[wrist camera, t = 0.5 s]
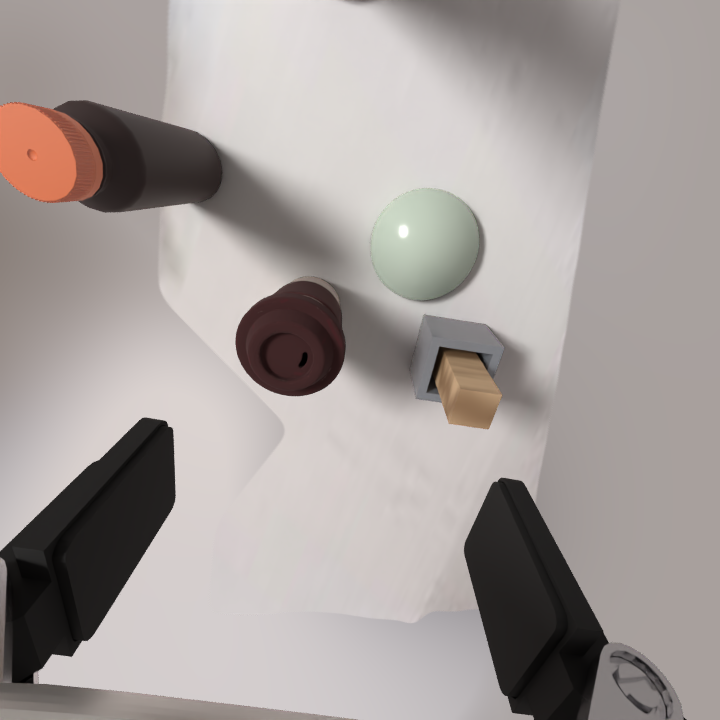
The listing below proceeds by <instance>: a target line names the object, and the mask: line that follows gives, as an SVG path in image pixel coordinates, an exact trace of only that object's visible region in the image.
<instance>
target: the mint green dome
mask: <svg viewBox="0 0 720 720" xmlns="http://www.w3.org/2000/svg"><path fill="white" fill-rule="evenodd" d="M478 250H479V231H478V226H477V223H476V220H475V218H474V216H473V214H472V212H471V211H470V209H469V208H468V206H467V205H466V204H465V203H464V202H463V201H462V200H461V199H459V198H458V197H456V196H455V195H453V194H451V193H449V192H446V191H443V190H439V189H432V188H422V189H416V190H412V191H409V192H407V193H405V194H403V195H401V196H399V197H398V198H396V199H395V200H393V201H392V202H391V203H390V204H389V205H388V206H387V207H386V208H385V209H384V210H383V212H382V213H381V215H380V216H379V218H378V220H377V222H376V224H375V226H374V229H373V232H372V237H371V258H372V263H373V266H374V269H375V271H376V273H377V275H378V277H379V278H380V280H381V281H382V282H383V284H384V285H385V286H386V287H387V288H388V289H390V290H391V291H392V292H394V293H395V294H397V295H399V296H402V297H404V298H407V299H412V300H429V299H434V298H438V297H440V296H443V295H445V294H447V293H449V292H451V291H452V290H453V289H455V288H456V287H457V286H458V285H460V284H461V283H462V282H463V280H464V279H465V278H466V277H467V276H468V274H469V273H470V271H471V269H472V267H473V265H474V263H475V261H476V258H477V254H478Z"/></svg>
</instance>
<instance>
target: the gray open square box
mask: <svg viewBox="0 0 720 720" xmlns="http://www.w3.org/2000/svg"><path fill="white" fill-rule="evenodd" d="M439 346H440V347H447V348H453V349H460V350H466V351H473V352H476V354H477V355H478V357H479V359H480V360H481V362H482V363H483V365H484V367H485V368H486V370H487V371H488V373H489V375H490V376H491V378H492V379H493V378H494V375H495V373H496V370H497V367H498V365H499V362H500V359H501V357H502V354H503V351H504V349H505V347H504V346H503V345H502V344H501V343H500V341H499V340H498V339H497V338H496V336H495V335H494V334H493V333H492V331H491V330H490V329H489V328H488V327H487V325H486V324H479V323H473V322H467V321H460V320H454V319H448V318H442V317H435V316H429V315H423V319H422V323H421V327H420V331H419V335H418V339H417V343H416V347H415V351H414V355H413V359H412V363H411V367H410V374H411V379H412V383H413V388H414V393H415V397H416V399H421V400H428V401H435V402H441V403H442V401H441V398H440V395H439V392H438V389H437V386H436V383H435V380H434V377H433V374H432V371H433V367H434V364H435V360H436V356H437V353H438V349H439Z"/></svg>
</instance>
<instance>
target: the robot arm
mask: <svg viewBox="0 0 720 720" xmlns="http://www.w3.org/2000/svg"><path fill="white" fill-rule="evenodd" d="M175 496H176V495H175V466H174V439H173V429H172V428H171V427H168V424H167V422H166V421H163V420H157V419H151V418H142V419H141V420H139V421H138V422H137V423H136V424H135V425H134V426H133V427H132V428H131V429H130V430H129V431H128V432H127V433H126V434H125V435H124V436H123V437H122V438H121V439H120V440H119V441H118V442H117V443H116V444H115V445H114V446H113V447H112V448H111V449H110V450H109V451H108V452H107V453H106V454H105V455H104V456H103V457H102V458H101V459H100V460H99V461H96V462H94V463H92V464H91V465H89V466H88V467H87V468H86V469H85V470H84V471H83V472H82V473H81V474H80V475H79V476H78V477H77V478H75V479H74V480H73V481H72V482H71V483H70V484H69V485H68V486H67V487H66V488H65V489H64V490H63V491H62V492H61V493H60V494H59V495H58V496H57V497H56V498H55V499H54V500H53V501H52V502H51V503H50V504H49V505H48V506H47V507H46V508H45V509H44V510H43V511H41V512H40V513H39V515H37V516H36V517H35V518H34V519H33V520H32V521H31V522H30V523H29V524H28V525H27V526H26V527H25V528H24V529H23V530H22V531H21V532H20V533H19V534H18V535H17V536H16V537H15V538H14V539H13V540H12V541H11V542H9V543H8V544H7V545H6V546H5V547H4V548H3V549H2V550H1V551H0V720H356V719H348V718H340V717H332V716H323V715H315V714H308V713H298V712H291V711H283V710H274V709H266V708H258V707H250V706H242V705H234V704H224V703H216V702H208V701H199V700H190V699H182V698H174V697H165V696H157V695H148V694H140V693H130V692H122V691H111V690H101V689H91V688H79V687H70V686H69V687H68V686H59V685H49V684H39V679H38V678H39V677H38V671H39V670H40V669H42V668H43V666H44V665H45V664H46V662H47V661H48V659H49V658H50V656H51V655H52V654H55V655H63V656H70V657H72V656H73V654H74V653H75V651H76V649H77V648H78V646H79V645H80V643H81V642H82V641H87V640H89V639H90V638H91V637H92V636H93V635H94V633H95V632H96V630H97V628H98V627H99V625H100V624H101V622H102V621H103V619H104V617H105V616H106V614H107V612H108V611H109V609H110V608H111V606H112V605H113V603H114V601H115V600H116V598H117V597H118V595H119V593H120V592H121V590H122V588H123V587H124V585H125V584H126V582H127V581H128V579H129V577H130V576H131V574H132V572H133V571H134V569H135V568H136V566H137V564H138V563H139V561H140V560H141V558H142V556H143V555H144V553H145V552H146V550H147V548H148V547H149V545H150V544H151V542H152V540H153V539H154V537H155V536H156V534H157V532H158V531H159V529H160V528H161V526H162V524H163V523H164V521H165V520H166V518H167V516H168V515H169V513H170V512H171V510H172V508H173V505H174V502H175ZM464 554H465V558H466V562H467V566H468V570H469V573H470V577H471V581H472V585H473V589H474V592H475V596H476V600H477V604H478V607H479V611H480V614H481V618H482V622H483V626H484V630H485V634H486V637H487V641H488V645H489V648H490V653H491V656H492V660H493V664H494V667H495V671H496V675H497V679H498V683H499V686H500V689H501V691H502V693H503V694H504V695H505V696H508V699H509V703H510V707H511V710H512V713H517V714H525V715H533V717H534V720H686V719H685V718H684V717H683V712H682V706H681V703H680V701H679V699H678V696H677V694H676V692H675V690H674V689H673V687H672V686H671V684H670V683H669V681H668V680H667V678H666V677H665V676H664V675H663V673H662V672H661V671H660V670H659V669H658V668H657V667H656V666H655V664H653V663H652V662H651V661H650V660H649V659H648V658H646V657H645V656H644V655H643V654H641V653H640V652H638V651H637V650H635V649H633V648H632V647H630V646H627V645H624V644H622V643H609V642H608V641H607V639H606V637H605V635H604V633H603V630H602V628H601V626H600V624H599V622H598V620H597V619H596V617H595V615H594V613H593V611H592V609H591V607H590V605H589V604H588V602H587V600H586V598H585V596H584V595H583V593H582V591H581V589H580V587H579V585H578V583H577V581H576V579H575V578H574V576H573V574H572V572H571V570H570V568H569V566H568V564H567V563H566V561H565V559H564V557H563V555H562V553H561V551H560V550H559V548H558V546H557V544H556V542H555V540H554V538H553V537H552V535H551V533H550V531H549V529H548V527H547V525H546V523H545V522H544V520H543V518H542V516H541V514H540V512H539V510H538V509H537V507H536V505H535V503H534V501H533V499H532V497H531V496H530V494H529V492H528V490H527V488H526V486H525V485H524V483H523V482H522V481H519V480H513V479H507V478H500V479H499V480H498V482H493V484H492V485H491V487H490V490H489V492H488V494H487V496H486V498H485V500H484V503H483V505H482V507H481V509H480V511H479V513H478V516H477V518H476V520H475V522H474V524H473V526H472V529H471V531H470V533H469V535H468V537H467V539H466V542H465V546H464Z"/></svg>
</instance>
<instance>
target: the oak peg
mask: <svg viewBox="0 0 720 720" xmlns="http://www.w3.org/2000/svg"><path fill="white" fill-rule="evenodd" d="M432 374H433V377H434V380H435V383H436V386H437V389H438V392H439V395H440V398H441V401H442V404H443V407H444V410H445V413H446V416H447V419H448V422H449V424H455V425H462V426H469V427H476V428H483V429H489V427H490V425H491V422H492V420H493V417H494V415H495V412H496V410H497V407H498V405H499V402H500V400H501V397H502V394H501V392H500V391H499V389H498V387H497V386H496V384H495V383H494V381H493V379H492V378H491V376H490V375H489V373H488V371H487V370H486V368H485V367H484V365H483V363H482V362H481V360H480V359H479V357H478V355H477V354H476V352H473V351H466V350H460V349H453V348H447V347H440V346H439V349H438V353H437V356H436V360H435V364H434V367H433V371H432Z"/></svg>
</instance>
